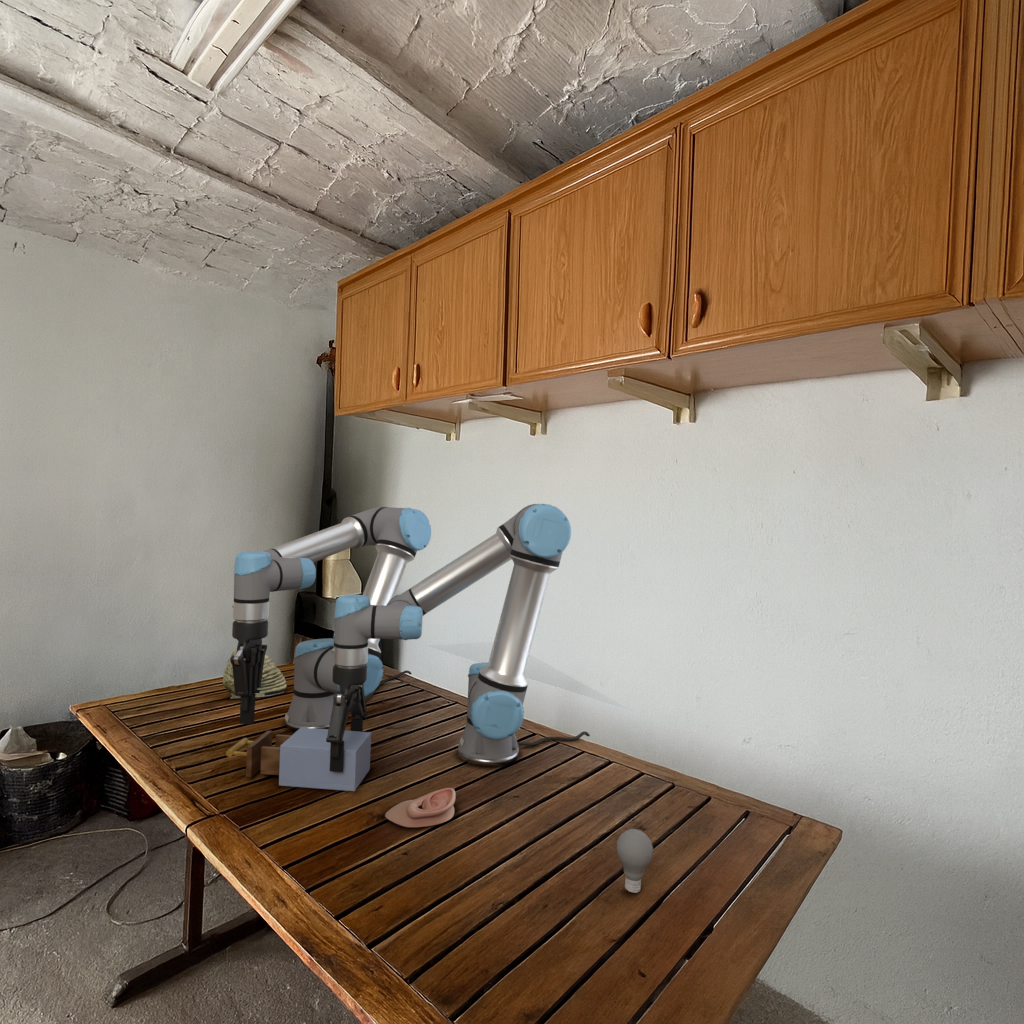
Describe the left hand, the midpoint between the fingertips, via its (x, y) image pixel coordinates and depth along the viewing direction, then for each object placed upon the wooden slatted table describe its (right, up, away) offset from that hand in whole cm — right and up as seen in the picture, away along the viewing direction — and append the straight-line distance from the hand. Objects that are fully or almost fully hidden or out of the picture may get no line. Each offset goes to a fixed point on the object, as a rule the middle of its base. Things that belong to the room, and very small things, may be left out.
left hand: (246, 722), depth 144 cm
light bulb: (+80, -15, -39) cm, 91 cm away
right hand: (+23, -8, -2) cm, 24 cm away
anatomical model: (+42, -13, -16) cm, 47 cm away
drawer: (+7, -10, 0) cm, 13 cm away
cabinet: (+18, -12, -1) cm, 22 cm away
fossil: (-20, -9, +54) cm, 58 cm away
